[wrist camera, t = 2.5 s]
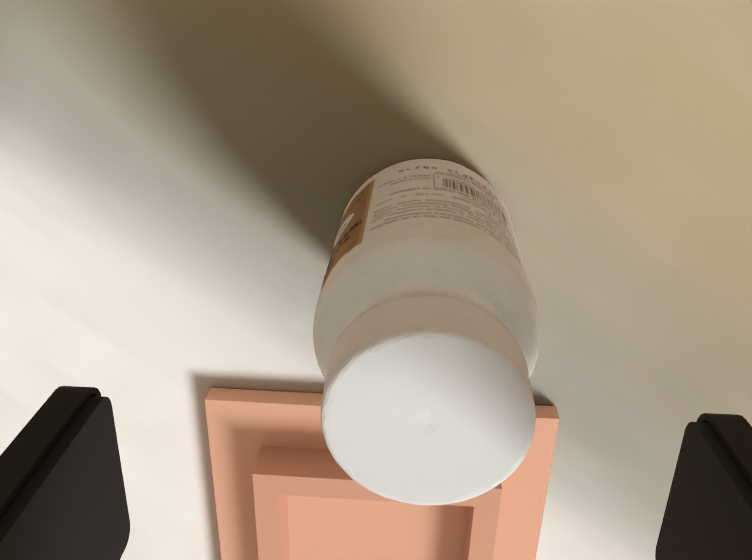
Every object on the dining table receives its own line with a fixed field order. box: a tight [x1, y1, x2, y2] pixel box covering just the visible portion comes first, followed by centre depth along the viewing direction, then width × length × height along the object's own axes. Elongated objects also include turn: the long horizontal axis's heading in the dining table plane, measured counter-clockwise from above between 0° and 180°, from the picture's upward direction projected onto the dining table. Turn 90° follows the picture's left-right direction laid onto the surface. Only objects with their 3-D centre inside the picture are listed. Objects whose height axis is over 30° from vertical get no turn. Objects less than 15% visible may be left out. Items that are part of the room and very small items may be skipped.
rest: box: [205, 388, 559, 560], centre depth 22 cm, size 10×10×2 cm
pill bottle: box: [313, 159, 541, 505], centre depth 14 cm, size 4×4×8 cm
